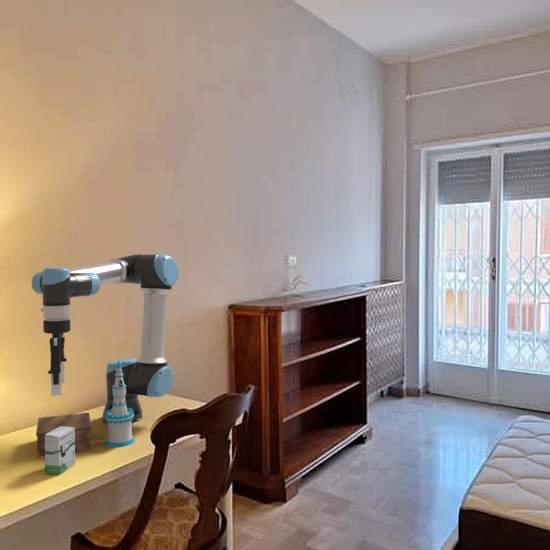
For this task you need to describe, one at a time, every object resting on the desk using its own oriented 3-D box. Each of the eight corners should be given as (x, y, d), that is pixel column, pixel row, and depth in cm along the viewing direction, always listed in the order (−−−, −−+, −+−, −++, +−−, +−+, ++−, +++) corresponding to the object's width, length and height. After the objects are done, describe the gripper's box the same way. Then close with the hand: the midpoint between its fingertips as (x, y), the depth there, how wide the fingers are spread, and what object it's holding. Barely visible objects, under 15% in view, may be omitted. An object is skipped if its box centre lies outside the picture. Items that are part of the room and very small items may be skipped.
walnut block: (89, 434, 187) (89, 412, 186) (91, 451, 171) (91, 427, 171) (39, 440, 180) (38, 417, 180) (36, 458, 165) (35, 434, 165)
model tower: (98, 444, 176) (97, 358, 174) (116, 434, 185) (115, 352, 184) (123, 448, 172) (121, 360, 171) (140, 438, 182) (139, 354, 180)
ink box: (59, 475, 152) (58, 436, 152) (44, 474, 153) (43, 435, 153) (76, 463, 161) (75, 426, 160) (61, 462, 162) (61, 425, 161)
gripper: (47, 314, 165) (48, 379, 166) (38, 325, 141) (40, 401, 143) (72, 313, 167) (73, 377, 169) (67, 324, 144) (69, 399, 145)
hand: (58, 389), depth 156 cm, fingers open, 13 cm apart
